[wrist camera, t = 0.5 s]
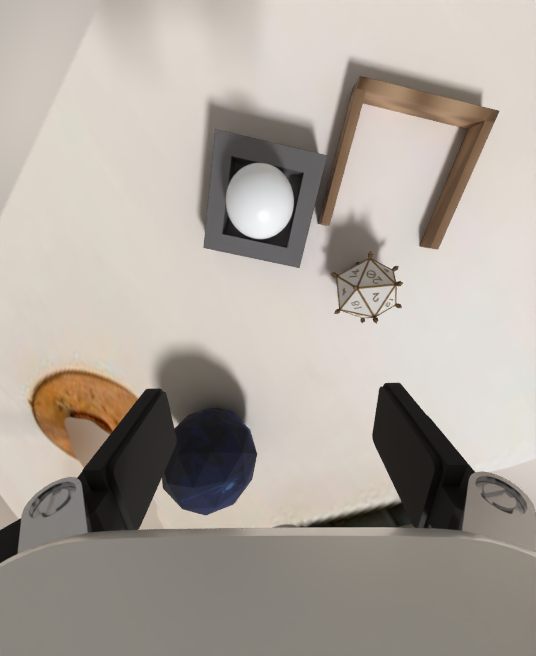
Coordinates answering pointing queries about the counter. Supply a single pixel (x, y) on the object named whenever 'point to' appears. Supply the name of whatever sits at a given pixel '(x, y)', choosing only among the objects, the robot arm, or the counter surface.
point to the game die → (367, 289)
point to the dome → (259, 200)
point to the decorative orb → (210, 461)
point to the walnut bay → (424, 107)
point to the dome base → (304, 182)
